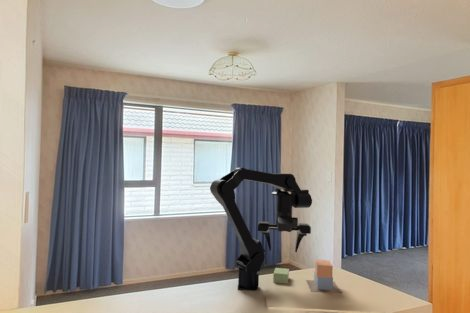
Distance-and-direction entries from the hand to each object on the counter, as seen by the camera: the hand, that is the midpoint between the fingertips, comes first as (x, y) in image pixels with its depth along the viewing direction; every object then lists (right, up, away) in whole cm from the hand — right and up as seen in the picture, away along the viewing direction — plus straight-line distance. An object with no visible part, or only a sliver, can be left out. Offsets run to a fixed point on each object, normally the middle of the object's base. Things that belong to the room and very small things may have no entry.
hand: (282, 251), depth 125 cm
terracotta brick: (+13, -6, -6) cm, 16 cm away
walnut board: (+13, -11, -6) cm, 18 cm away
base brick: (+13, -10, -6) cm, 18 cm away
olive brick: (-1, -11, 0) cm, 11 cm away
